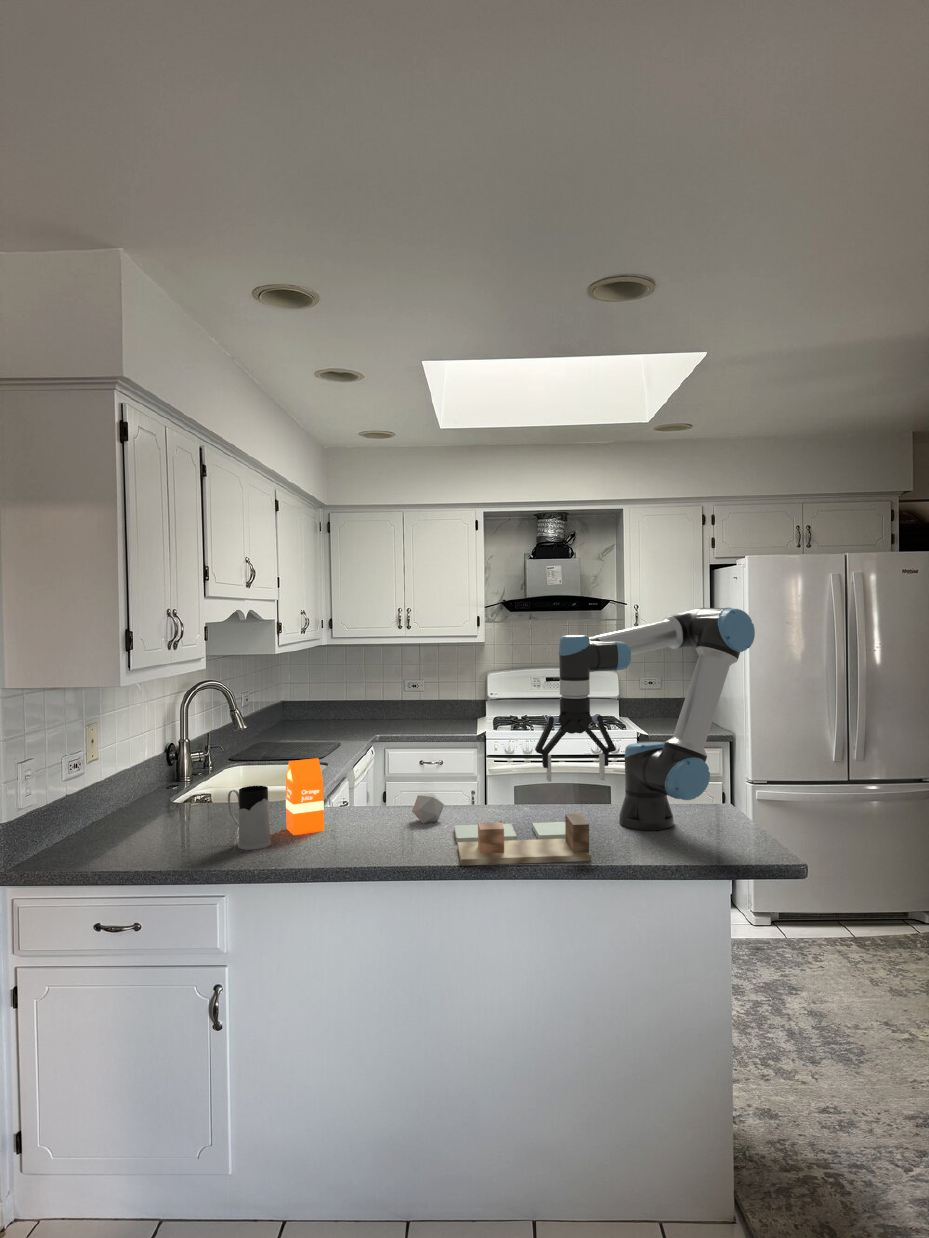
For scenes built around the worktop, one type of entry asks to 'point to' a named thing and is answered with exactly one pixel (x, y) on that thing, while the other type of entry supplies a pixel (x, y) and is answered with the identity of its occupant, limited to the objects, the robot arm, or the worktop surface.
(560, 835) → the broken strip
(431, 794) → the grey block
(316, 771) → the orange juice
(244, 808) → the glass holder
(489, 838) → the cube
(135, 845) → the worktop surface
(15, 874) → the worktop surface
